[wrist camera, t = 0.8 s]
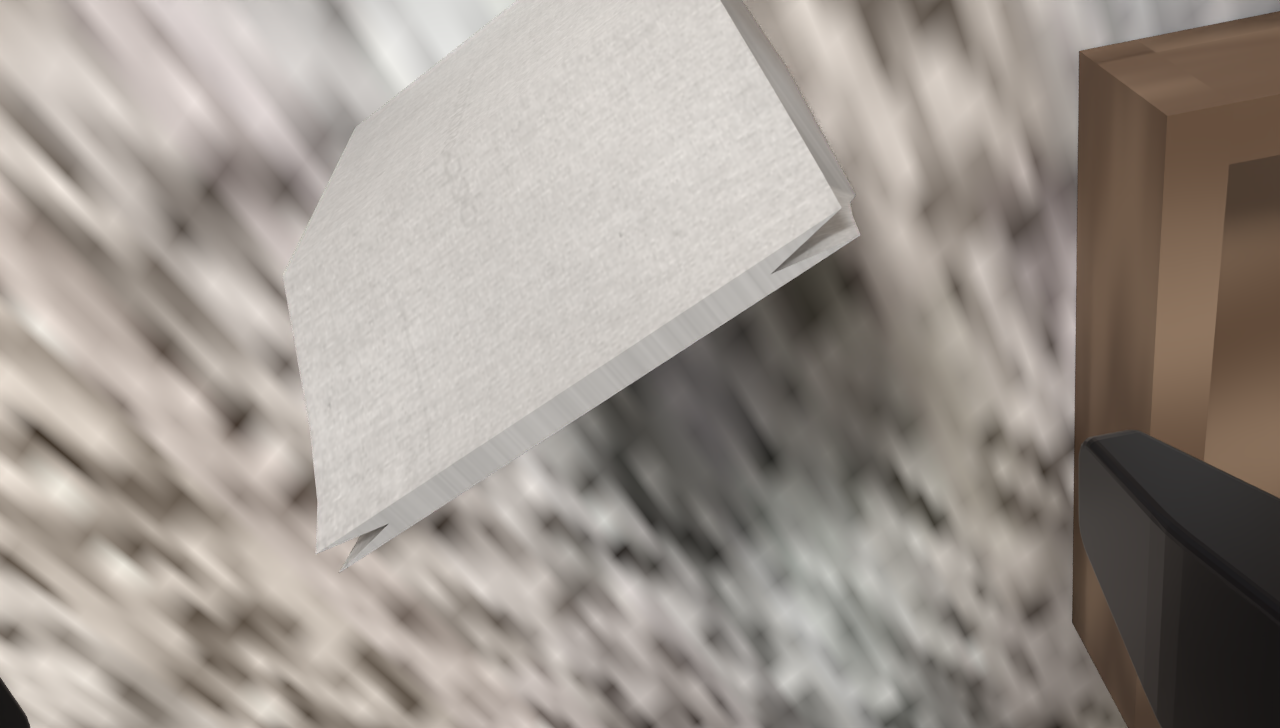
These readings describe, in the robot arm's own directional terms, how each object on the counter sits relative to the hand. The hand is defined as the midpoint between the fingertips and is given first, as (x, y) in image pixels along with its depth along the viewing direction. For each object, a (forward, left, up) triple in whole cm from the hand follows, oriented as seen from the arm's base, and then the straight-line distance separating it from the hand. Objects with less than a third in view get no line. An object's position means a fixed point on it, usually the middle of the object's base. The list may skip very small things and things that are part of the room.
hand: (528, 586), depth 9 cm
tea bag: (0, 0, -13) cm, 13 cm away
